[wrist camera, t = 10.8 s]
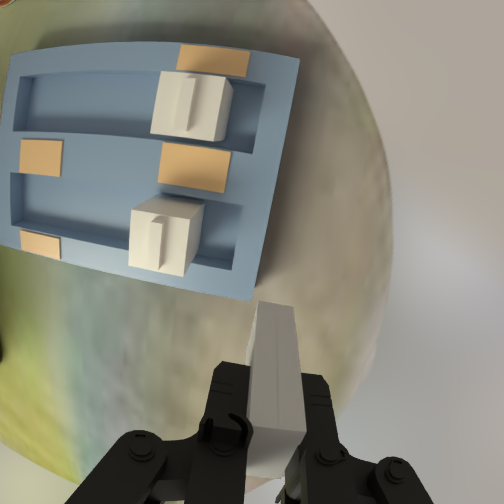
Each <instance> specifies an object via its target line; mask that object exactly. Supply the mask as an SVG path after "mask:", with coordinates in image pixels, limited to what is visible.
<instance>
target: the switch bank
mask: <svg viewBox="0 0 504 504" xmlns="http://www.w3.org/2000/svg"><path fill="white" fill-rule="evenodd" d="M299 64H300V59H299V58H294V57H289V56H284V55H279V54H273V53H268V52H262V51H256V50H249V49H242V48H234V47H226V46H217V45H207V44H194V43H178V42H106V43H90V44H79V45H69V46H60V47H52V48H45V49H39V50H33V51H27V52H22V53H17V54H12V55H11V59H10V64H9V68H8V74H7V79H6V85H5V91H4V97H3V105H2V113H1V122H0V245H3V246H6V247H10V248H14V249H17V250H21V251H25V252H28V253H32V254H36V255H40V256H43V257H47V258H51V259H55V260H59V261H63V262H67V263H71V264H75V265H79V266H83V267H87V268H91V269H95V270H100V271H104V272H108V273H112V274H117V275H121V276H126V277H130V278H134V279H139V280H144V281H148V282H153V283H157V284H162V285H167V286H172V287H177V288H181V289H186V290H191V291H196V292H201V293H206V294H212V295H217V296H222V297H227V298H233V299H238V300H244V301H249V302H251V301H252V296H253V291H254V286H255V282H256V277H257V272H258V267H259V262H260V258H261V253H262V248H263V243H264V238H265V234H266V229H267V224H268V219H269V214H270V209H271V204H272V200H273V195H274V190H275V185H276V180H277V175H278V170H279V165H280V160H281V155H282V150H283V145H284V140H285V135H286V130H287V125H288V120H289V115H290V110H291V105H292V100H293V95H294V90H295V85H296V79H297V74H298V69H299ZM161 71H167V72H181V73H193V74H203V75H212V76H220V77H226V79H227V80H228V82H229V83H230V84H231V86H232V87H233V89H234V93H233V98H232V103H231V108H230V114H229V119H228V124H227V130H226V135H225V140H222V141H214V142H213V141H206V140H200V139H192V138H185V137H177V136H169V135H160V134H151V133H150V131H151V124H152V118H153V112H154V106H155V100H156V95H157V90H158V84H159V79H160V74H161ZM156 194H162V195H168V196H174V197H180V198H186V199H192V200H198V201H204V202H205V207H204V214H203V221H202V228H201V235H200V243H199V249H198V251H197V253H196V255H195V257H194V258H193V260H192V262H191V264H190V266H189V267H188V269H187V271H186V273H185V275H184V277H180V276H176V275H171V274H166V273H161V272H156V271H151V270H146V269H142V268H137V267H132V266H128V260H129V237H130V221H131V209H133V208H135V207H136V206H138V205H139V204H141V203H143V202H144V201H146V200H148V199H149V198H151V197H153V196H154V195H156Z"/></svg>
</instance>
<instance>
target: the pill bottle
mask: <svg viewBox="0 0 504 504" xmlns="http://www.w3.org/2000/svg"><path fill="white" fill-rule="evenodd" d="M14 1H15V0H0V7H5V6H7V5H9V4H11V3H12V2H14Z"/></svg>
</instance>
